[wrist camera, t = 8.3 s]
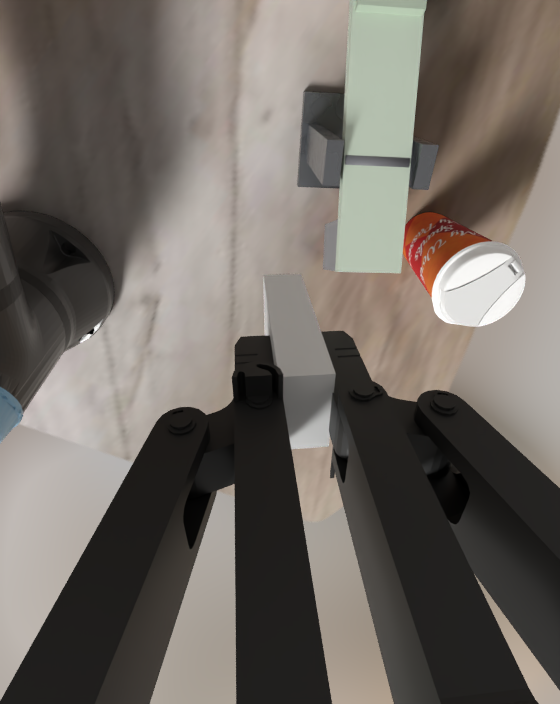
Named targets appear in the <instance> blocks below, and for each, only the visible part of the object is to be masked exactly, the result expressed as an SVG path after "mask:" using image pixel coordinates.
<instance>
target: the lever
mask: <svg viewBox="0 0 560 704" xmlns="http://www.w3.org/2000/svg"><path fill="white" fill-rule="evenodd" d="M426 4H427V0H350V4H349V23H348V42H347V60H346V79H345V97H344V116H343V134H342V139H343V140H344V147H343V156H342V164H341V172H340V190H339V208H338V219H337V220H335V221H333V222H330V223H328V224H325V236H324V257H323V269H325V270H331V271H336V272H369V273H401V266H402V255H403V244H404V233H405V221H406V210H407V199H408V188H409V177H410V166H411V155H412V143H413V132H414V121H415V110H416V99H417V88H418V76H419V65H420V54H421V43H422V32H423V21H424V12H425V10H426Z"/></svg>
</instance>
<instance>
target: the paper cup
mask: <svg viewBox="0 0 560 704" xmlns="http://www.w3.org/2000/svg"><path fill="white" fill-rule="evenodd" d="M403 254H404V256H405V258H406V260H407V261H408V263H409V264H410V266H411V267H412V269H413V270H414V272H415V273H416V275H417V276H418V278H419V279H420V281H421V282H422V284H423V285H424V287H425V288H426V290H427V291H428V293H429V294H430V296H431V297H432V302H433V306H434V311H435V313H436V314H437V316H438V317H439V318H441V319H442V320H443V321H445V322H447V323H452V324H458V325H464V326H475V327H479V326H483V325H487V324H490V323H493V322H494V321H496V320H498V319H500V318H501V317H503V316H504V315H506V314H507V313H508V312H509V311H510V310H511V309H512V308H513V307H514V306H515V305H516V303H517V302H518V300H519V299H520V297H521V295H522V293H523V290H524V286H525V272H524V270H523V264H522V261H521V258H520V256H519V254H518V253H517V252H516V251H515V250H514V249H513V248H511V247H510V246H509V245H506V244H504V243H500V242H493V241H491V240H490V239H488V238H486V237H484V236H482V235H480V234H478V233H476V232H474V231H472V230H470V229H468V228H466V227H464V226H462V225H460V224H459V223H457V222H455V221H453V220H451V219H449V218H447V217H445V216H443V215H440V214H438V213H434V212H426V213H422V214H419V215H417V216H415V217H414V218H412V219H411V220H410V221H409V222H408V223H407V224H406V225H405V233H404V244H403Z"/></svg>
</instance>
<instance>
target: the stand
mask: <svg viewBox="0 0 560 704" xmlns="http://www.w3.org/2000/svg"><path fill="white" fill-rule="evenodd" d="M344 97H345V94H340V93H323V92H305V91H304V94H303V109H302V123H301V138H300V152H299V167H298V181H297V186H298V187H318V188H340V172H341V164H342V156H343V147H344V140H343V139H342V134H343V116H344ZM438 147H439V145H437V144H434V143H432V142H429V141H426V140H423V139H420V138H418V137H415V136H413V143H412V155H411V166H410V177H409V187H410V188H412V189H422V190H428V189H429V185H430V181H431V177H432V172H433V168H434V164H435V160H436V156H437V152H438Z"/></svg>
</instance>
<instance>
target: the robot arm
mask: <svg viewBox="0 0 560 704" xmlns="http://www.w3.org/2000/svg"><path fill="white" fill-rule="evenodd" d="M263 287H264V329H265V336H248V337H240V339H239V340H238V342H237V343H236V344H235V371H234V373H233V376H232V384H233V396H234V398H233V400H232V402H231V403H230V404H229V405H228V406H227V407H225V408H224V409H222V410H220V411H217V412H215V413H212V414H208V415H205V413H203V412H202V411H201V410H199V409H196V408H192V407H180V408H176V409H173V410H170V411H168V412H167V413H165V414H163V415H162V416H161V417H160V418H159V419H158V421H157V422H156V424H155V425H154V427H153V429H152V431H151V432H150V434H149V436H148V438H147V440H146V441H145V443H144V445H143V447H142V449H141V450H140V452H139V454H138V456H137V458H136V459H135V461H134V463H133V465H132V466H131V468H130V470H129V472H128V474H127V475H126V477H125V479H124V481H123V483H122V484H121V486H120V488H119V490H118V492H117V493H116V495H115V497H114V499H113V500H112V502H111V504H110V506H109V508H108V509H107V511H106V513H105V515H104V517H103V518H102V520H101V522H100V524H99V525H98V527H97V529H96V531H95V533H94V535H93V536H92V538H91V540H90V542H89V543H88V545H87V547H86V549H85V551H84V552H83V554H82V556H81V558H80V560H79V562H78V563H77V565H76V567H75V568H74V570H73V572H72V574H71V576H70V577H69V579H68V581H67V583H66V584H65V586H64V588H63V590H62V592H61V593H60V595H59V597H58V599H57V601H56V602H55V604H54V606H53V608H52V610H51V611H50V613H49V615H48V617H47V618H46V620H45V622H44V624H43V626H42V627H41V629H40V631H39V633H38V635H37V636H36V638H35V640H34V642H33V644H32V646H31V647H30V649H29V651H28V653H27V654H26V656H25V658H24V660H23V661H22V663H21V665H20V667H19V669H18V670H17V672H16V674H15V676H14V678H13V680H12V681H11V683H10V685H9V686H8V688H7V690H6V692H5V694H4V696H3V697H2V699H1V701H0V704H150V700H151V697H152V694H153V691H154V688H155V685H156V682H157V678H158V675H159V672H160V669H161V666H162V663H163V660H164V657H165V653H166V650H167V647H168V644H169V641H170V638H171V635H172V632H173V628H174V625H175V622H176V619H177V616H178V613H179V610H180V606H181V603H182V600H183V597H184V594H185V590H186V588H187V585H188V582H189V578H190V575H191V572H192V569H193V566H194V563H195V559H196V556H197V553H198V550H199V547H200V544H201V541H202V538H203V535H204V531H205V528H206V525H207V522H208V519H209V516H210V513H211V510H212V506H213V503H214V500H215V497H216V493H217V490H219V489H222V488H224V487H227V486H230V485H232V484H235V577H236V578H235V585H236V694H237V695H236V699H237V701H236V704H332V701H331V694H330V688H329V682H328V676H327V670H326V664H325V657H324V651H323V644H322V639H321V632H320V626H319V619H318V613H317V608H316V601H315V594H314V588H313V583H312V576H311V570H310V563H309V558H308V551H307V545H306V538H305V533H304V526H303V520H302V513H301V507H300V501H299V495H298V488H297V482H296V476H295V470H294V463H293V457H292V451H291V449H301V448H314V447H328V446H329V438H330V437H331V440H332V444H333V451H332V460H331V470H330V478H334V474H336V478H337V482H338V486H339V490H340V493H341V497H342V501H343V505H344V509H345V513H346V517H347V521H348V525H349V529H350V533H351V537H352V540H353V545H354V548H355V552H356V556H357V560H358V564H359V568H360V572H361V576H362V580H363V584H364V588H365V592H366V595H367V600H368V603H369V607H370V611H371V615H372V619H373V623H374V627H375V631H376V635H377V639H378V643H379V647H380V651H381V655H382V658H383V662H384V666H385V670H386V674H387V678H388V682H389V686H390V690H391V694H392V698H393V701H394V704H538V702H537V701H536V700H535V698H534V696H533V695H532V693H531V691H530V689H529V688H528V686H527V683H526V681H525V679H524V677H523V675H522V673H521V671H520V669H519V667H518V665H517V663H516V661H515V658H514V656H513V654H512V652H511V650H510V648H509V646H508V644H507V642H506V640H505V638H504V636H503V634H502V632H501V629H500V627H499V625H498V623H497V621H496V619H495V617H494V615H493V613H492V611H491V609H490V606H489V605H488V603H487V601H486V598H485V596H484V594H483V592H482V590H481V588H480V586H479V584H478V582H477V580H476V577H477V578H478V579H479V581H480V582H481V583H482V585H483V586H484V588H485V589H486V590H487V592H488V593H489V594H490V596H491V597H492V599H493V600H494V601H495V603H496V604H497V605H498V607H499V608H500V609H501V611H502V612H503V614H504V615H505V616H506V618H507V619H508V620H509V622H510V623H511V625H512V626H513V627H514V629H515V630H516V631H517V633H518V634H519V635H520V637H521V638H522V639H523V641H524V642H525V644H526V645H527V646H528V648H529V649H530V650H531V652H532V653H533V655H534V656H535V657H536V659H537V660H538V661H539V663H540V664H541V666H542V667H543V668H544V670H545V671H546V672H547V673H548V675H549V676H550V678H551V679H552V681H553V682H554V683H555V685H556V686H557V687H558V689H559V690H560V488H559V487H558V486H557V485H556V484H554V483H553V482H552V481H551V480H550V479H549V478H548V477H547V476H546V475H545V474H543V473H542V472H541V471H540V470H539V469H538V468H537V467H536V466H535V465H534V464H533V463H531V462H530V461H529V460H528V459H527V458H526V457H525V456H524V455H523V454H522V453H520V451H518V450H517V449H516V448H515V447H514V446H513V445H512V444H511V443H510V442H509V441H508V440H506V439H505V438H504V437H503V436H502V435H501V434H500V433H499V432H498V431H496V429H494V428H493V427H492V426H491V425H490V424H489V423H488V422H487V421H486V420H485V419H484V418H483V417H481V416H480V415H479V414H478V413H477V412H476V411H475V410H474V409H473V408H472V407H471V406H469V405H468V404H467V403H466V402H465V401H464V400H462V399H461V398H460V397H458V396H457V395H454V394H452V393H449V392H447V391H440V390H432V391H427V392H424V393H422V394H421V395H420V397H419V398H418V400H417V402H412V401H406V400H400V399H396V398H392V397H390V396H388V394H387V392H386V391H385V390H384V388H383V387H382V386H380V385H379V384H377V383H376V382H373V381H372V380H371V378H370V376H369V373H368V371H367V369H366V367H365V365H364V362H363V360H362V358H361V357H360V354H359V352H358V349H357V347H356V345H355V343H354V341H353V338H351V337H350V336H349V335H348V334H346V333H345V332H344V331H327V332H321V330H320V327H319V324H318V321H317V318H316V315H315V312H314V309H313V307H312V304H311V301H310V298H309V295H308V292H307V289H306V286H305V283H304V281H303V278H302V275H301V274H276V275H263ZM113 301H114V284H113V279H112V275H111V272H110V270H109V267H108V265H107V263H106V262H105V260H104V258H103V257H102V255H101V254H100V252H99V251H98V250H97V248H96V247H95V246H94V245H93V244H92V243H91V242H90V241H89V240H88V239H87V238H86V237H85V236H84V235H82V234H81V233H80V232H79V231H77V230H76V229H74V228H73V227H71V226H70V225H68V224H66V223H64V222H62V221H60V220H58V219H56V218H53V217H50V216H47V215H44V214H40V213H36V212H29V211H11V212H5V213H3V210H2V206H1V203H0V443H1V442H2V441H3V439H4V438H5V437H6V436H7V434H8V433H9V432H10V431H11V430H12V428H14V427H15V426H17V425H18V424H19V423H20V421H21V420H22V417H23V415H22V414H23V413H24V411H25V410H26V408H27V407H28V405H29V404H30V402H31V401H32V399H33V398H34V396H35V395H36V393H37V392H38V390H39V389H40V387H41V386H42V384H43V383H44V381H45V380H46V378H47V377H48V375H49V374H50V372H51V371H52V369H53V368H54V366H55V365H56V363H57V362H58V360H59V359H60V357H61V355H62V354H63V353H64V352H65V351H67V350H69V349H71V348H72V347H74V346H76V345H78V344H80V343H82V342H84V341H85V340H87V339H89V338H90V337H91V336H93V335H94V334H95V333H96V332H97V331H98V330H99V329H100V327H101V326H102V325H103V323H104V322H105V320H106V318H107V317H108V315H109V313H110V311H111V308H112V305H113ZM474 574H475V575H476V577H475V575H474Z"/></svg>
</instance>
